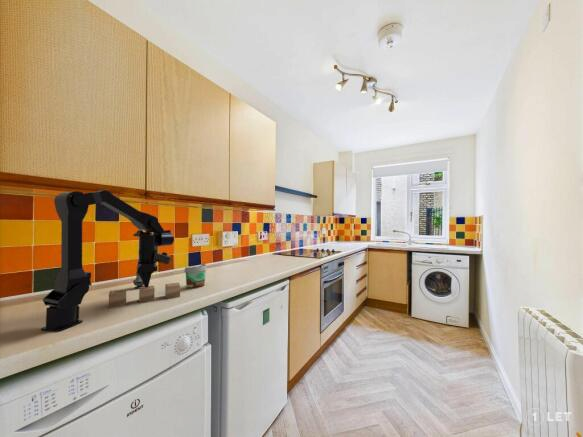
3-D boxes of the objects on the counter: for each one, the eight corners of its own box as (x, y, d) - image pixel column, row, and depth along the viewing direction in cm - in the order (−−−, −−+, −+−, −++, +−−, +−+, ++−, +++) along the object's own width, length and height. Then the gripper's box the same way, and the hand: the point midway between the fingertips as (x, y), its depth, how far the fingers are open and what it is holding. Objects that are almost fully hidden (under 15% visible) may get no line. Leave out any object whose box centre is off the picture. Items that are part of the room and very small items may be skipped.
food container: (195, 290, 107) (195, 268, 107) (184, 289, 109) (184, 267, 109) (212, 284, 118) (212, 264, 119) (202, 283, 120) (202, 263, 121)
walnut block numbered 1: (180, 296, 97) (180, 284, 97) (166, 299, 94) (166, 286, 95) (178, 294, 101) (178, 281, 102) (165, 296, 99) (165, 283, 99)
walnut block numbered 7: (125, 305, 87) (125, 291, 87) (108, 308, 84) (108, 293, 84) (126, 301, 91) (126, 288, 91) (109, 304, 88) (110, 290, 89)
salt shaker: (130, 289, 108) (130, 263, 108) (135, 286, 114) (135, 261, 114) (144, 288, 110) (145, 263, 110) (148, 285, 115) (149, 261, 116)
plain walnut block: (154, 301, 92) (154, 288, 92) (139, 303, 89) (139, 290, 90) (153, 297, 96) (153, 285, 96) (139, 299, 94) (139, 287, 94)
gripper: (172, 248, 90) (172, 289, 90) (167, 245, 106) (167, 279, 105) (138, 249, 84) (137, 293, 83) (138, 246, 100) (137, 283, 99)
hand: (146, 287), depth 93 cm, fingers closed
